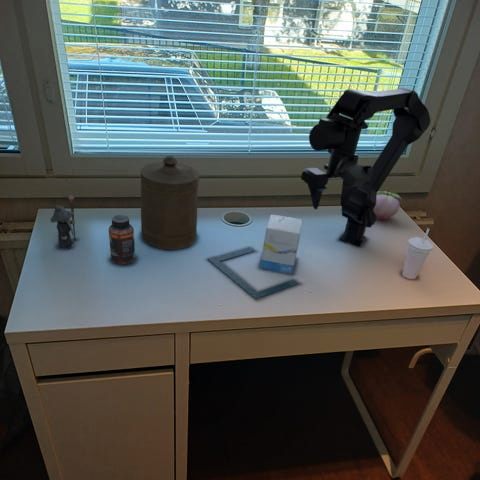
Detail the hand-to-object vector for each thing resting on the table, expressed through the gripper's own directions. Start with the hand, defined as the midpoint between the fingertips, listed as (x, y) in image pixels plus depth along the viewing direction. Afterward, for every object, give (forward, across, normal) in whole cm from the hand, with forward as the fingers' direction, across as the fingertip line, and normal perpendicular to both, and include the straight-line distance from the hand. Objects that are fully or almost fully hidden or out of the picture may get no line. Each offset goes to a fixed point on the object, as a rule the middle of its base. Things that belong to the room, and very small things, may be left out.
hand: (328, 207), depth 124 cm
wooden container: (+14, -36, +21) cm, 44 cm away
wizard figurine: (+16, -62, +26) cm, 69 cm away
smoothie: (+12, +16, -20) cm, 28 cm away
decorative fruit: (+12, +33, +10) cm, 36 cm away
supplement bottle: (+15, -51, +13) cm, 55 cm away
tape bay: (+14, -23, -3) cm, 27 cm away
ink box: (+14, -15, -2) cm, 20 cm away
